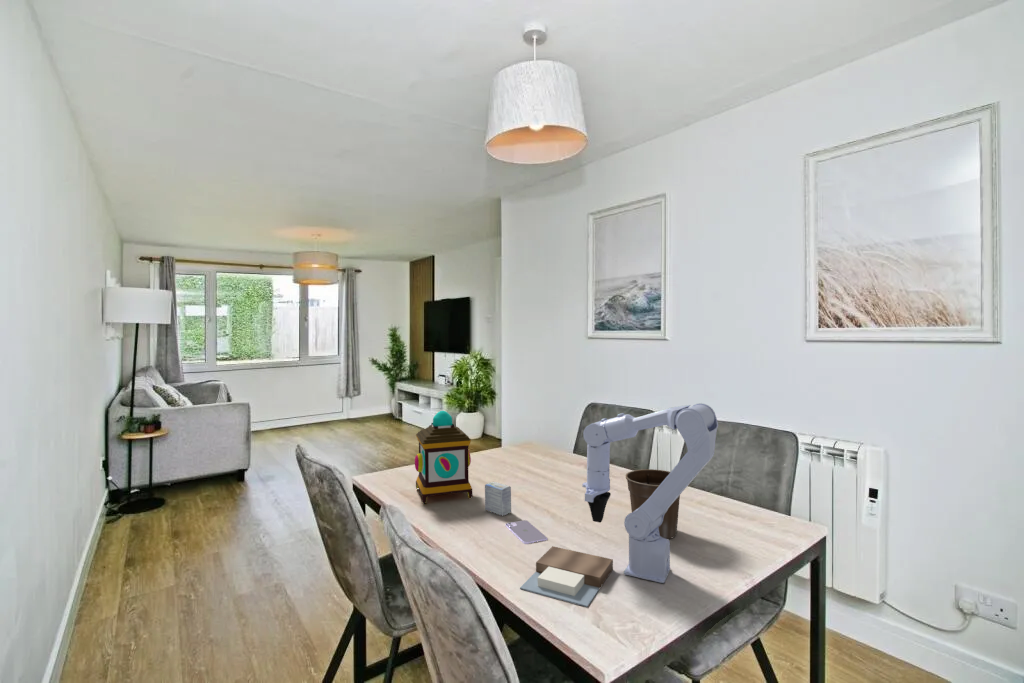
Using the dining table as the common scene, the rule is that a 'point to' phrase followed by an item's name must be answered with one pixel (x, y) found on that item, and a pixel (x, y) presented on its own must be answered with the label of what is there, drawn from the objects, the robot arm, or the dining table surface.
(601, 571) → the walnut board
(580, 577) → the cream block
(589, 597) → the slate mat
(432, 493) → the decorative lantern
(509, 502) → the stack of paper
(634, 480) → the plant pot
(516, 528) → the mobile phone
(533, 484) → the dining table surface
